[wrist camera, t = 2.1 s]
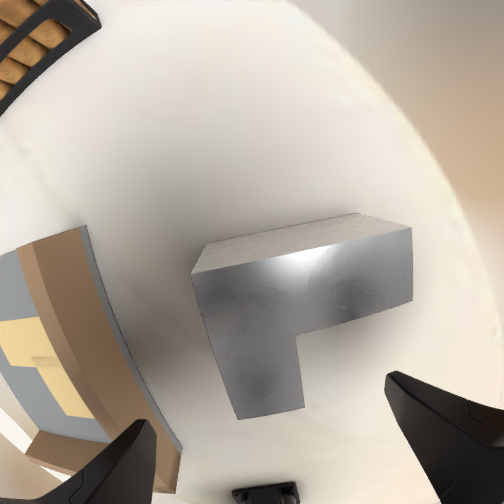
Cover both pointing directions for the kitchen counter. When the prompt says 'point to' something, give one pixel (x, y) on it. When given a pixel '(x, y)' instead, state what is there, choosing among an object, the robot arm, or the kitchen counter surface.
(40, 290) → the arena
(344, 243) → the angle bracket
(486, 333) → the kitchen counter surface
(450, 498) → the robot arm
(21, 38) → the ammunition clip
